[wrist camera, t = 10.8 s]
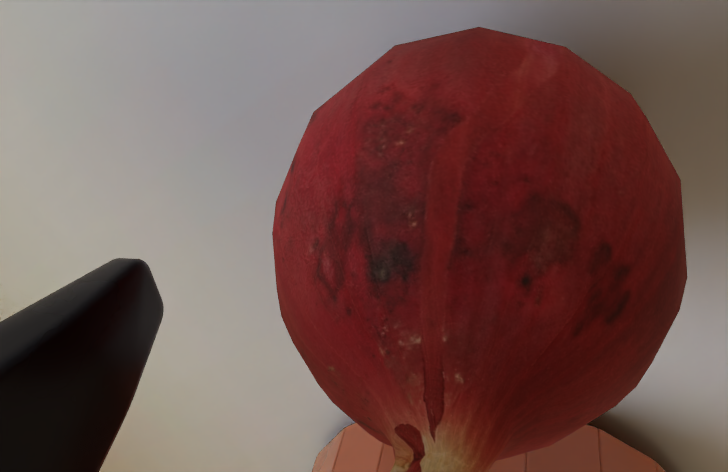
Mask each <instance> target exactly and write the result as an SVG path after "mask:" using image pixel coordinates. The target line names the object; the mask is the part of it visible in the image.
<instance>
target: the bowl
mask: <svg viewBox="0 0 728 472" xmlns="http://www.w3.org/2000/svg"><path fill="white" fill-rule="evenodd" d="M394 463H395V458H394V453H393V448H392V447H391V446H389V445H387V444H384V443H382V442H380V441H379V440H377V439H376V438H374V437H373V436H371V435H370V434H369V433H367V432H366V431H365V430H364V429H363V428H362V427H361V426H359V425H358V424H357V423H354V424H351V425H349V426H347V427H345V428H344V429H343V430H342V431H341V432H340V433H339V434H338V435H337V436H336V437H335V438H334V439H333V440H332V441H331V442H330V443H329V444H328V445H327V446H326V447H325V448H324V449H323V450H322V451H321V452H320V453H319V454H318V456H317V457H316V461H315V464H314V467H313V470H312V472H391V470H392V467H393V465H394ZM488 472H665V470H664V469H663V468H662V467H661V466H660V465H659V464H658V463H657V462H655V460H654V459H652V458H650V457H648V456H647V455H645V454H643V453H641V452H640V451H638V450H636V449H634V448H633V447H631V446H629V445H627V444H626V443H624V442H622V441H620V440H619V439H617V438H615V437H614V436H612V435H610V434H608V433H607V432H605V431H603V430H601V429H597V428H596V427H594V426H590V425H587V424H586V425H585V426H583V427H581V428H580V429H578V430H577V431H575V432H574V433H572V434H570V435H569V436H567V437H565V438H563V439H562V440H560V441H558V442H556V443H554V444H553V445H551V446H548V447H544V448H541V449H537V450H534V451H530V452H527V453H523V454H520V455H516V456H513V457H509V458H506V459H502V460H497V461H495V462H494V464H493V465H492V466H491V468H490V469H489V470H488Z"/></svg>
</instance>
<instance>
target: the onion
mask: <svg viewBox="0 0 728 472" xmlns="http://www.w3.org/2000/svg"><path fill="white" fill-rule="evenodd" d="M272 235H273V247H274V259H275V272H276V284H277V293H278V299H279V304H280V310H281V316H282V318H283V321H284V323H285V325H286V328H287V330H288V332H289V334H290V337H291V339H292V341H293V343H294V345H295V346H296V348H297V350H298V351H299V353H300V355H301V356H302V358H303V360H304V361H305V363H306V365H307V366H308V368H309V370H310V371H311V373H312V374H313V376H314V378H315V379H316V381H317V383H318V384H319V386H320V387H321V388H322V389H323V391H324V392H325V393H326V394H327V396H328V397H329V398H330V399H331V401H332V402H333V403H334V404H335V405H337V406H338V407H339V408H340V409H341V410H342V411H343V412H345V413H346V414H347V415H348V416H349V417H350V418H351V419H353V420H354V421H355V422H356V423H357V424H358V425H359V426H361V427H362V428H363V429H364V430H365V431H366V432H367V433H369V434H370V435H371V436H373V437H374V438H376V439H377V440H379V441H380V442H382V443H384V444H387V445H389V446H391V447H392V448H393V453H394V458H395V463H394V465H393V467H392V470H391V472H488V470H489V469H490V468H491V466H492V465H493V464H494V462H495V461H497V460H502V459H506V458H509V457H513V456H516V455H520V454H523V453H527V452H530V451H534V450H537V449H541V448H544V447H548V446H551V445H553V444H554V443H556V442H558V441H560V440H562V439H563V438H565V437H567V436H569V435H570V434H572V433H574V432H575V431H577V430H578V429H580V428H581V427H583V426H585V425H586V424H588V423H589V422H591V421H592V420H594V419H596V418H597V417H599V416H600V415H602V414H603V413H605V412H607V411H608V410H610V409H611V408H613V407H614V406H616V405H617V404H618V403H619V402H620V401H621V400H622V399H623V398H624V397H625V396H626V395H628V394H629V393H630V392H631V391H632V390H633V389H634V388H635V387H636V386H637V384H638V383H639V381H640V380H641V378H642V377H643V375H644V374H645V372H646V371H647V369H648V368H649V366H650V365H651V363H652V361H653V360H654V358H655V356H656V354H657V352H658V350H659V348H660V346H661V344H662V342H663V340H664V339H665V337H666V335H667V333H668V331H669V329H670V327H671V325H672V323H673V321H674V319H675V317H676V316H677V314H678V312H679V309H680V305H681V301H682V297H683V292H684V288H685V284H686V280H687V267H686V252H685V238H684V223H683V209H682V195H681V180H680V178H679V176H678V174H677V173H676V171H675V169H674V167H673V165H672V163H671V162H670V160H669V158H668V156H667V154H666V152H665V151H664V149H663V147H662V145H661V143H660V142H659V140H658V138H657V136H656V134H655V132H654V131H653V129H652V127H651V125H650V123H649V121H648V120H647V118H646V116H645V115H644V113H643V112H642V110H641V109H640V107H639V106H638V104H637V103H636V101H635V100H634V98H633V97H632V95H631V94H630V93H629V92H627V91H626V90H625V89H623V88H622V87H620V86H619V85H618V84H616V83H615V82H614V81H612V80H611V79H609V78H608V77H607V76H605V75H604V74H602V73H601V72H600V71H598V70H597V69H596V68H594V67H593V66H591V65H590V64H589V63H587V62H586V61H584V60H583V59H582V58H580V57H579V56H577V55H576V54H575V53H573V52H572V51H571V50H569V49H568V48H566V47H563V46H559V45H555V44H550V43H546V42H542V41H537V40H533V39H529V38H524V37H520V36H516V35H512V34H507V33H503V32H499V31H494V30H490V29H486V28H481V27H477V28H473V29H468V30H464V31H459V32H455V33H450V34H445V35H441V36H436V37H432V38H427V39H423V40H418V41H414V42H409V43H405V44H400V45H396V46H394V47H393V48H392V49H390V50H389V51H388V52H387V53H385V54H384V55H383V56H382V57H381V58H379V59H378V60H377V61H376V62H374V63H373V64H372V65H371V66H370V67H368V68H367V69H366V70H365V71H363V72H362V73H361V74H360V75H359V76H357V77H356V78H355V79H354V80H352V81H351V82H350V83H349V84H348V85H346V86H345V87H344V88H343V89H341V90H340V91H339V92H338V93H337V94H335V95H334V96H333V97H332V98H330V99H329V100H328V101H327V102H326V103H324V104H323V105H322V106H321V107H319V108H318V109H317V110H316V111H315V112H314V113H313V115H312V117H311V119H310V122H309V124H308V126H307V128H306V131H305V133H304V135H303V137H302V139H301V142H300V144H299V146H298V149H297V151H296V154H295V156H294V159H293V161H292V164H291V166H290V169H289V171H288V174H287V176H286V179H285V181H284V184H283V186H282V189H281V191H280V194H279V196H278V199H277V201H276V208H275V217H274V225H273V234H272Z"/></svg>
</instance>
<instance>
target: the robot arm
mask: <svg viewBox="0 0 728 472" xmlns="http://www.w3.org/2000/svg"><path fill="white" fill-rule="evenodd" d="M162 317H163V302H162V299H161V296H160V294H159V291H158V289H157V286H156V284H155V281H154V278H153V276H152V273H151V271H150V268H149V266H148V265H147V264H146V263H145V262H144V261H143V260H140V259H127V258H118V259H114V260H112V261H110V262H108V263H106V264H104V265H103V266H101V267H99V268H97V269H95V270H94V271H92V272H90V273H88V274H86V275H85V276H83V277H81V278H79V279H77V280H75V281H74V282H72V283H70V284H68V285H66V286H65V287H63V288H61V289H59V290H57V291H56V292H54V293H52V294H50V295H48V296H47V297H45V298H43V299H41V300H39V301H37V302H36V303H34V304H32V305H30V306H28V307H27V308H25V309H23V310H21V311H19V312H18V313H16V314H14V315H12V316H10V317H9V318H7V319H5V320H3V321H1V322H0V472H99V470H100V468H101V466H102V464H103V462H104V460H105V458H106V456H107V454H108V452H109V450H110V448H111V446H112V444H113V442H114V439H115V437H116V435H117V433H118V431H119V429H120V427H121V425H122V423H123V421H124V419H125V416H126V414H127V412H128V410H129V407H130V405H131V402H132V400H133V397H134V395H135V392H136V389H137V387H138V384H139V381H140V378H141V376H142V373H143V370H144V367H145V365H146V362H147V359H148V356H149V354H150V351H151V348H152V345H153V343H154V340H155V337H156V334H157V332H158V329H159V326H160V323H161V321H162Z"/></svg>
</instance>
